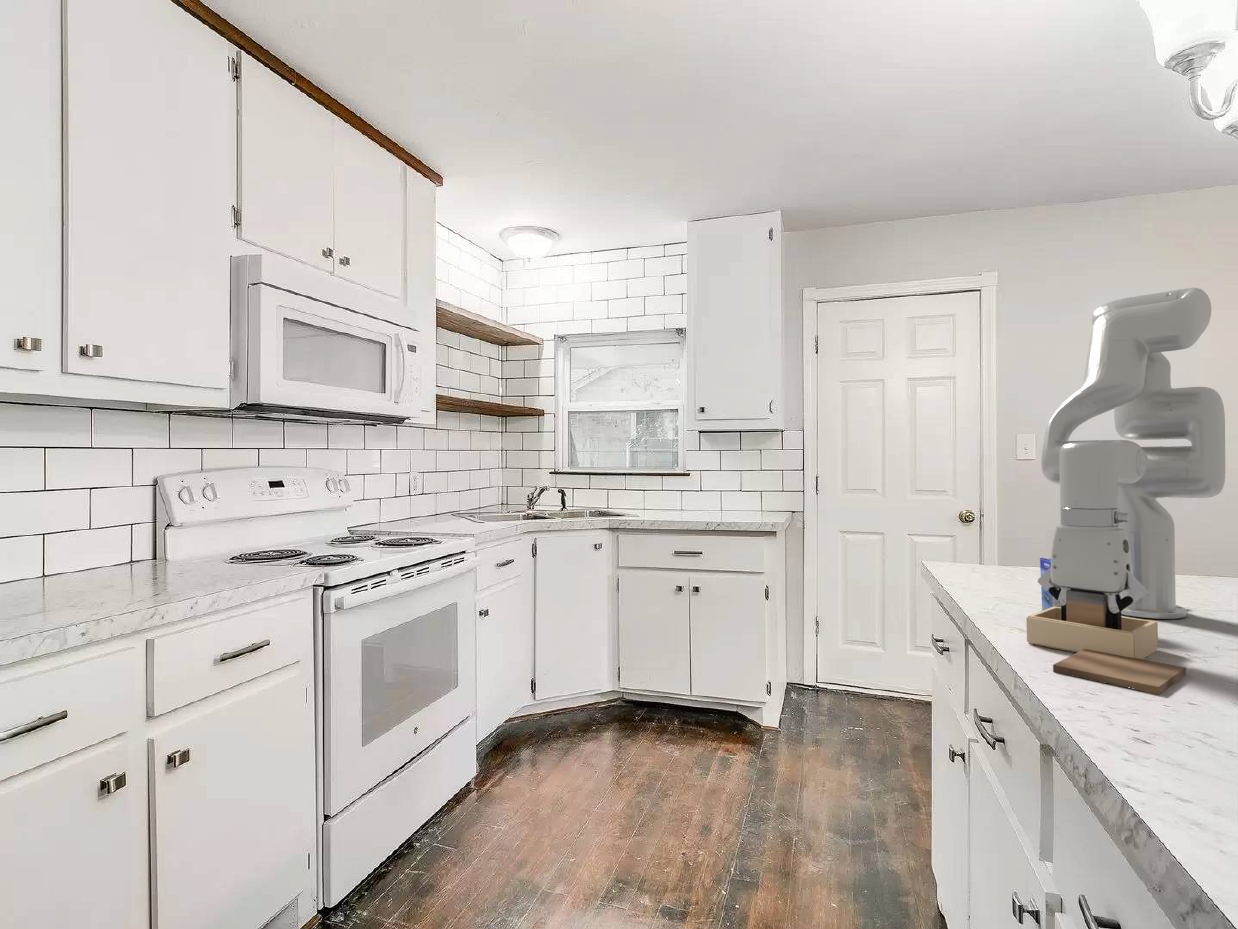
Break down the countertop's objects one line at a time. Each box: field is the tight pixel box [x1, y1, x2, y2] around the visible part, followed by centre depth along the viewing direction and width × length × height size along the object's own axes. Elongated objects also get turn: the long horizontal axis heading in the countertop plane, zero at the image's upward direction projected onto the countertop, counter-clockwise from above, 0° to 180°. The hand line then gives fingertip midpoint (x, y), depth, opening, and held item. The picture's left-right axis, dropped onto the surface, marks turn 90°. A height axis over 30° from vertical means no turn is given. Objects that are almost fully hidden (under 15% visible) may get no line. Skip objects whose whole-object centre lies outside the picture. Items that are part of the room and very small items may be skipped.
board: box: [1052, 649, 1187, 695], centre depth 93 cm, size 12×12×1 cm
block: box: [1066, 589, 1109, 628], centre depth 105 cm, size 5×5×9 cm
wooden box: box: [1026, 607, 1159, 660], centre depth 105 cm, size 11×14×4 cm
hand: (1090, 631), depth 105 cm, fingers closed on block, 5 cm apart
